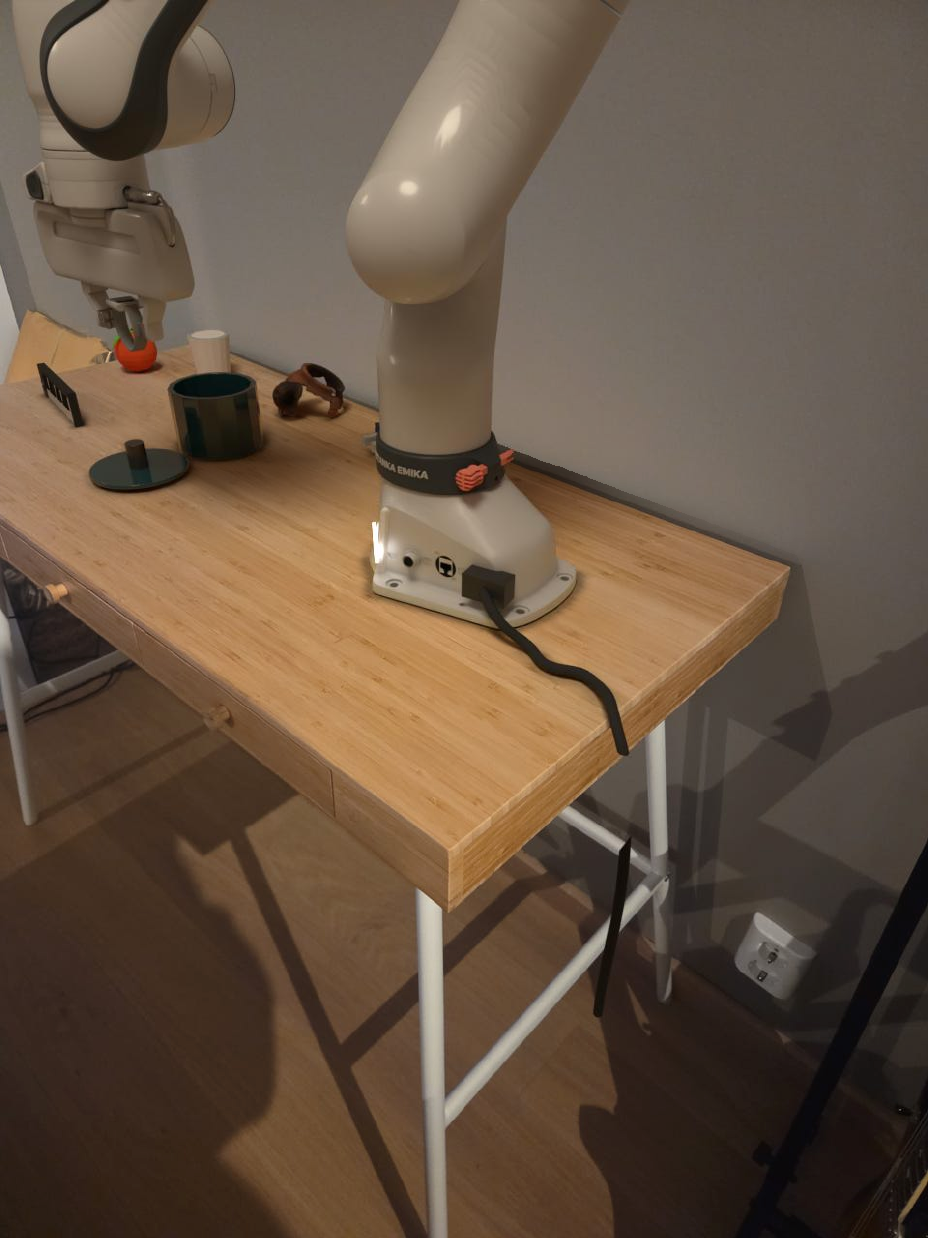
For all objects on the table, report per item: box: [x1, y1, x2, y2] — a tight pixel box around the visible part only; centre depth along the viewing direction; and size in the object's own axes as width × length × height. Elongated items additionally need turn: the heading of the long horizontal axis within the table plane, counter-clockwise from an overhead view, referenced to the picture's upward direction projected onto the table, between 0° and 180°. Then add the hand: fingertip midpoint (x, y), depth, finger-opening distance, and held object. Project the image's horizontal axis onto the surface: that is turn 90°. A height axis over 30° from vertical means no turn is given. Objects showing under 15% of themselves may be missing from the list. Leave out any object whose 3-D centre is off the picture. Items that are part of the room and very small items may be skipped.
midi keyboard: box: [36, 362, 85, 428], centre depth 126 cm, size 18×1×5 cm, turn 36°
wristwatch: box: [106, 295, 147, 352], centre depth 85 cm, size 6×3×5 cm, turn 38°
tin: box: [167, 371, 264, 462], centre depth 114 cm, size 11×11×8 cm
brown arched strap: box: [271, 362, 346, 419], centre depth 125 cm, size 12×10×8 cm
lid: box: [88, 438, 190, 490], centre depth 106 cm, size 12×12×4 cm
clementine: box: [112, 328, 158, 372], centre depth 141 cm, size 8×7×7 cm
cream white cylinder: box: [186, 328, 232, 374], centre depth 140 cm, size 7×7×7 cm
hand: (130, 333), depth 86 cm, fingers closed on wristwatch, 6 cm apart
